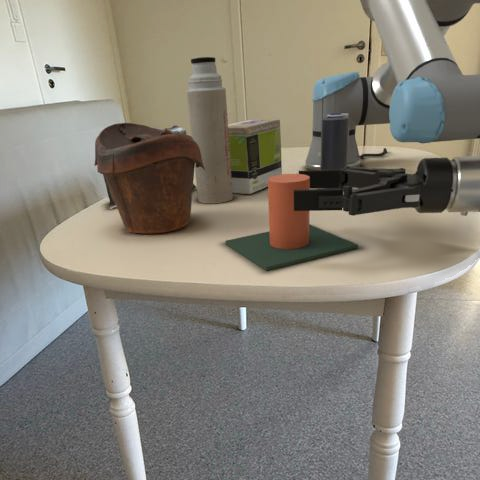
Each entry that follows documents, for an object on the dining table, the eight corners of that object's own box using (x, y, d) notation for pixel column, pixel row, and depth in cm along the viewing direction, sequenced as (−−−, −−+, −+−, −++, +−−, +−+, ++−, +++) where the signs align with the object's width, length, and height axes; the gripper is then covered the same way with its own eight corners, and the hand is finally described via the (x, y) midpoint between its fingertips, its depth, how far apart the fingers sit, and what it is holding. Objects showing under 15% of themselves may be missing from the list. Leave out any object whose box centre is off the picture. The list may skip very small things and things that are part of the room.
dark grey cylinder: (335, 184, 107) (338, 116, 100) (352, 189, 102) (356, 117, 95) (314, 188, 105) (315, 119, 98) (329, 193, 100) (332, 120, 93)
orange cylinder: (295, 234, 74) (295, 172, 70) (316, 244, 69) (318, 178, 65) (262, 241, 72) (260, 177, 67) (282, 252, 67) (281, 184, 62)
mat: (307, 226, 79) (307, 223, 79) (357, 248, 68) (358, 244, 68) (225, 244, 74) (225, 240, 73) (266, 271, 63) (266, 267, 62)
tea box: (250, 179, 119) (247, 118, 112) (283, 182, 113) (282, 118, 106) (215, 191, 108) (210, 126, 101) (250, 195, 103) (246, 126, 96)
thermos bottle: (236, 194, 104) (227, 56, 91) (228, 203, 98) (217, 55, 84) (203, 195, 106) (190, 59, 93) (193, 203, 99) (177, 58, 86)
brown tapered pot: (197, 239, 77) (185, 127, 68) (90, 239, 80) (65, 132, 72) (219, 211, 92) (211, 116, 83) (128, 212, 96) (112, 122, 87)
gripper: (466, 239, 54) (291, 240, 58) (426, 191, 76) (300, 194, 79) (479, 175, 50) (291, 181, 54) (432, 144, 72) (300, 150, 76)
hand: (296, 189), depth 67 cm, fingers open, 13 cm apart
